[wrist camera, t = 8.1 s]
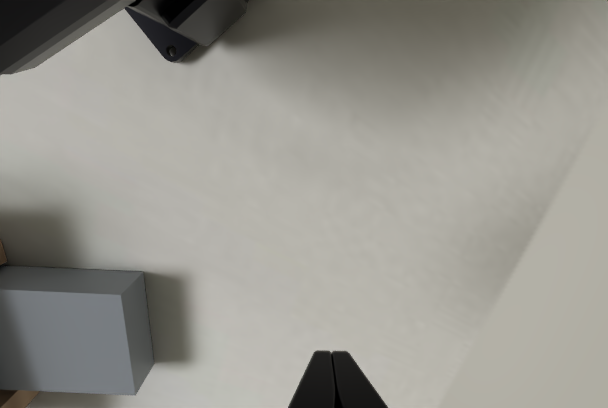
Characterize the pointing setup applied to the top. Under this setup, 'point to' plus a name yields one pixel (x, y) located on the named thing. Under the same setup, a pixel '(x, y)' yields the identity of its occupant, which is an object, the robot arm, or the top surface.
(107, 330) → the grey chamfered block
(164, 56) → the robot arm
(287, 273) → the top surface
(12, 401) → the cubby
